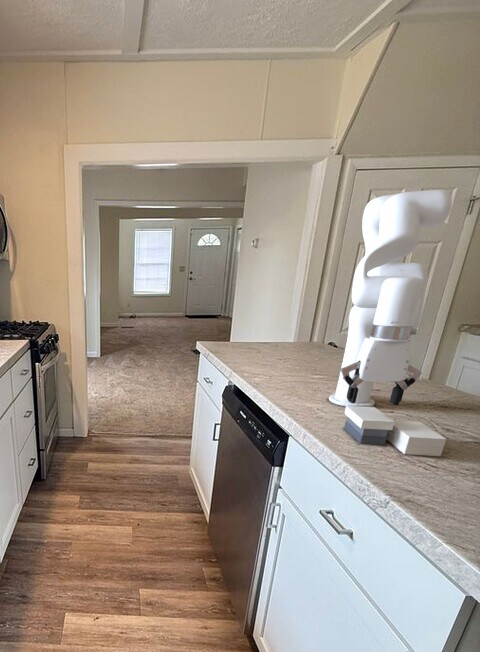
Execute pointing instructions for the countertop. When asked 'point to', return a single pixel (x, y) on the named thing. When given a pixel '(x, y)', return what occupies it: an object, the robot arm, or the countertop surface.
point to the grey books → (366, 433)
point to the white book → (369, 418)
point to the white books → (415, 439)
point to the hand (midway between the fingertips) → (372, 402)
